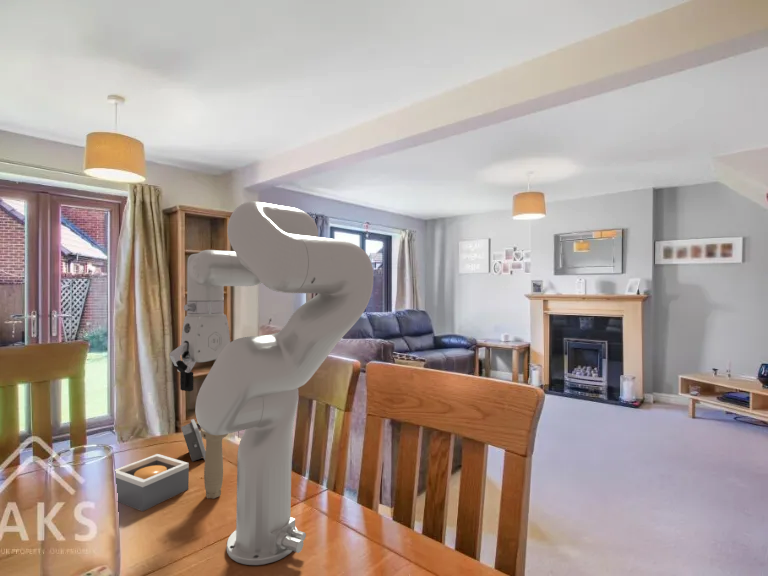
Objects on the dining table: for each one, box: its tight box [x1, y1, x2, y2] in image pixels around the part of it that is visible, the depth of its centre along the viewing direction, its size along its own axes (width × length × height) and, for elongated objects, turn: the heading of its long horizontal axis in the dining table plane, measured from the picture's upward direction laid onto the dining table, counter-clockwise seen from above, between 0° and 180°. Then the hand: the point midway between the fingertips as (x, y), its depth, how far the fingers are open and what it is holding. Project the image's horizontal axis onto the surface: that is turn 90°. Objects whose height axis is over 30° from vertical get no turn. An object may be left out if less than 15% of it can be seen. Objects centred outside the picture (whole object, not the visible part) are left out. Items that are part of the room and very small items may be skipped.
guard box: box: [114, 453, 190, 512], centre depth 95 cm, size 11×11×6 cm
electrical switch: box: [180, 418, 206, 462], centre depth 116 cm, size 9×5×9 cm, turn 30°
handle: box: [200, 427, 229, 500], centre depth 94 cm, size 5×6×15 cm
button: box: [134, 465, 167, 479], centre depth 95 cm, size 6×6×2 cm
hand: (205, 386), depth 94 cm, fingers open, 9 cm apart
